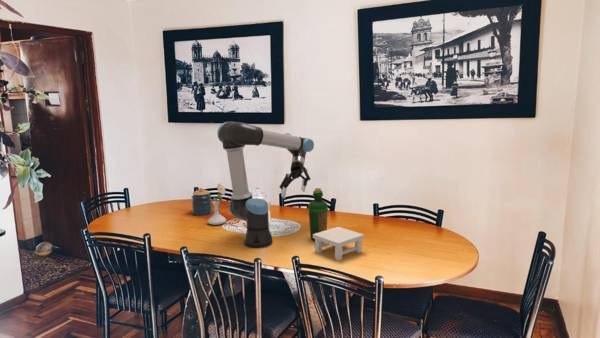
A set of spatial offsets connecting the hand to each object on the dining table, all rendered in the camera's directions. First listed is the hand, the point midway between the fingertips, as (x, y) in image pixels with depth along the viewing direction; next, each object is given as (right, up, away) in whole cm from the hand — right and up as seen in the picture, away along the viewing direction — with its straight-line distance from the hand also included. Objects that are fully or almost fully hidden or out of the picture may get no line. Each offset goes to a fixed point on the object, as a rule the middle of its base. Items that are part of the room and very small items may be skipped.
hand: (292, 194), depth 234 cm
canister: (-62, -16, +53) cm, 84 cm away
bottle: (+14, -25, -3) cm, 28 cm away
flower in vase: (-47, -20, +30) cm, 59 cm away
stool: (+23, -28, -23) cm, 42 cm away
